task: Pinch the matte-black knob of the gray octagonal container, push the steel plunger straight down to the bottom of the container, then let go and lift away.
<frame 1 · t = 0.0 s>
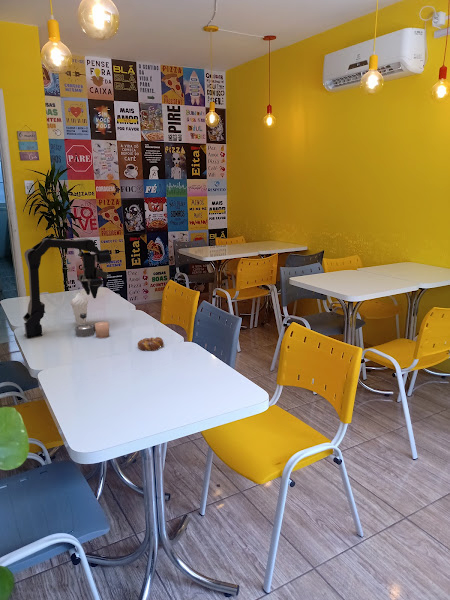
hand: (91, 296, 219), 15 cm above the table, fingers open, 9 cm apart
peach rounded capsule: (102, 336, 206), on the table
plunger: (83, 321, 207), point 6 cm above the table, slide at 0.0 cm
soft serve ice cream cone: (81, 324, 225), on the table
pretzel: (151, 347, 192), on the table
gray octagonal container: (84, 334, 208), on the table
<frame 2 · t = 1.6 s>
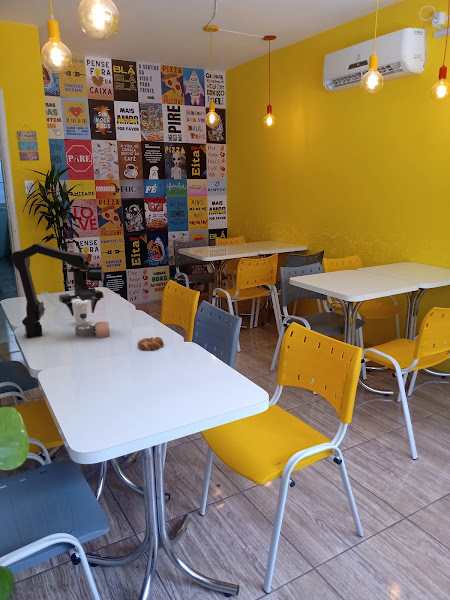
hand: (82, 314, 206), 10 cm above the table, fingers open, 9 cm apart
nothing on the table moved.
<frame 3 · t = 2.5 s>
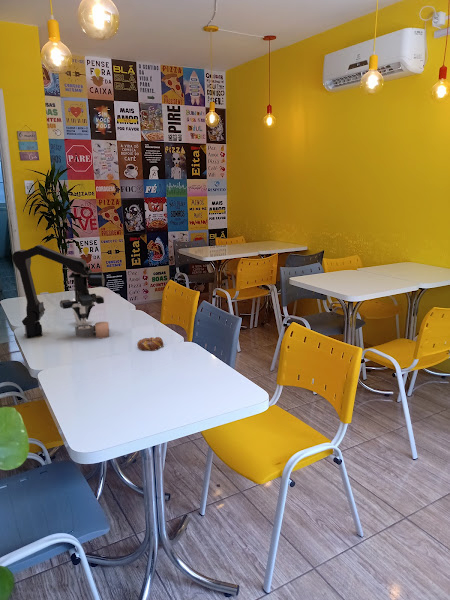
hand: (83, 319, 207), 7 cm above the table, fingers closed on plunger, 3 cm apart
plunger: (83, 321, 207), point 6 cm above the table, slide at 0.0 cm, touching gripper
everything else where it was.
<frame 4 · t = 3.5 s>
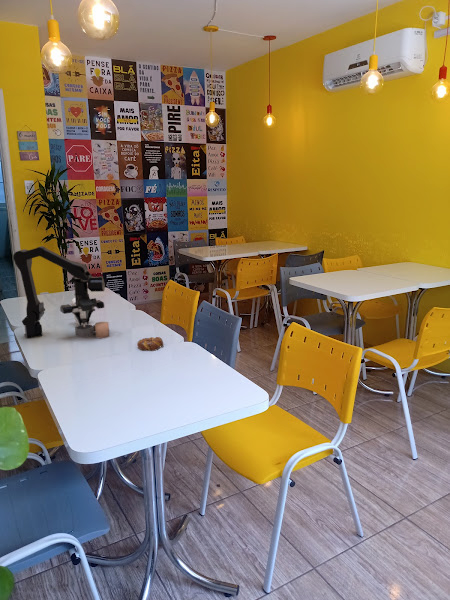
hand: (84, 324, 207), 5 cm above the table, fingers closed on plunger, 3 cm apart
plunger: (84, 325, 207), point 4 cm above the table, slide at 2.3 cm, touching gripper
everything else where it was.
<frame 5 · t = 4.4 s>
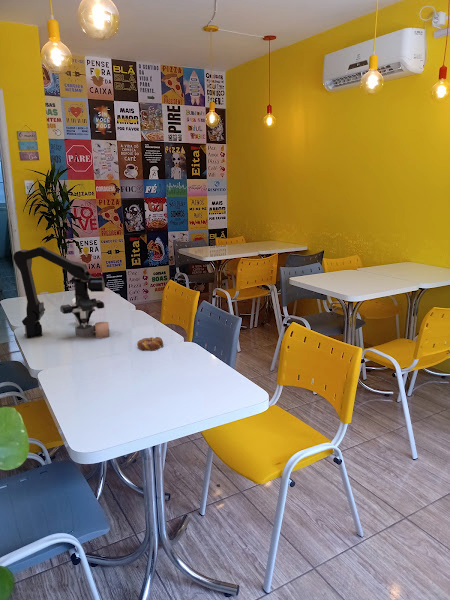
hand: (84, 324, 207), 5 cm above the table, fingers closed on plunger, 3 cm apart
plunger: (84, 326, 207), point 4 cm above the table, slide at 2.3 cm, touching gripper
everything else where it was.
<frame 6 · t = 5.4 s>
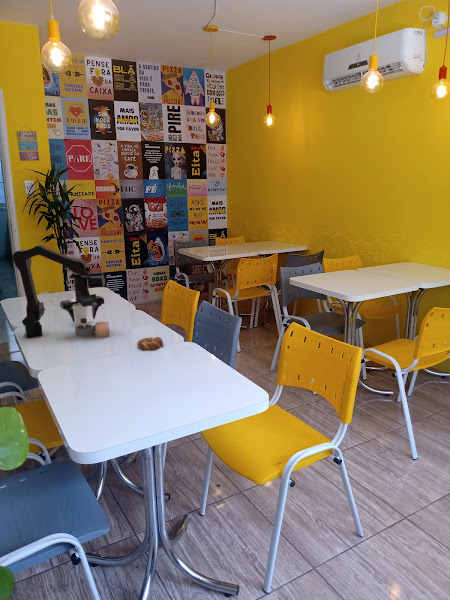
hand: (84, 320, 207), 7 cm above the table, fingers open, 9 cm apart
plunger: (84, 326, 207), point 4 cm above the table, slide at 2.3 cm
everything else where it was.
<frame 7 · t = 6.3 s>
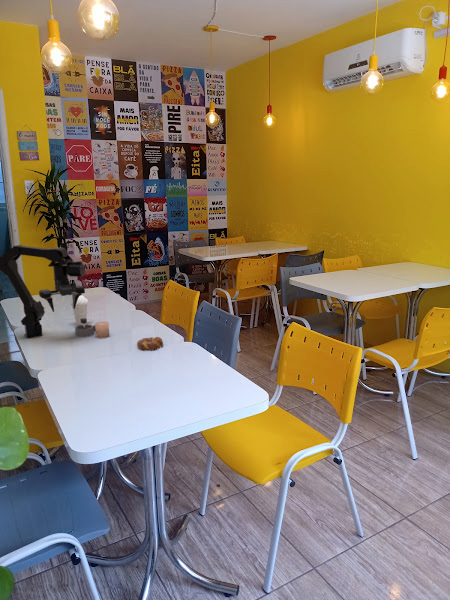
hand: (63, 310, 203), 12 cm above the table, fingers open, 9 cm apart
nothing on the table moved.
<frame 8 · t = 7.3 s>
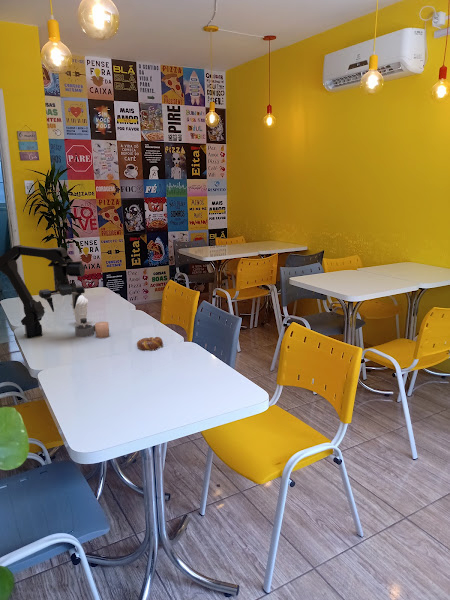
hand: (63, 310, 203), 13 cm above the table, fingers open, 9 cm apart
nothing on the table moved.
at the end: plunger slide at 2.3 cm; the gripper is holding nothing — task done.
